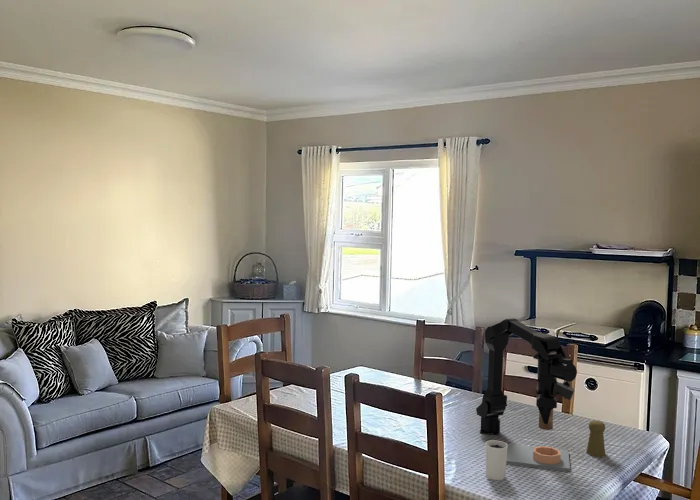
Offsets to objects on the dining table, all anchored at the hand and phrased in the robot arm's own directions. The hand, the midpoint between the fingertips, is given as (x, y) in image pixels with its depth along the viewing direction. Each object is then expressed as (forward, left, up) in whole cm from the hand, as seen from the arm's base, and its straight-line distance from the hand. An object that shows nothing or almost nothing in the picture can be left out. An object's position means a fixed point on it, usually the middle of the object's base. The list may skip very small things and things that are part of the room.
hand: (545, 421), depth 208 cm
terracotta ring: (+1, -2, -12) cm, 13 cm away
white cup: (-14, -19, -13) cm, 27 cm away
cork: (+17, +11, -13) cm, 23 cm away
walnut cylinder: (0, 0, -2) cm, 2 cm away
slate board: (-2, 0, -12) cm, 13 cm away
